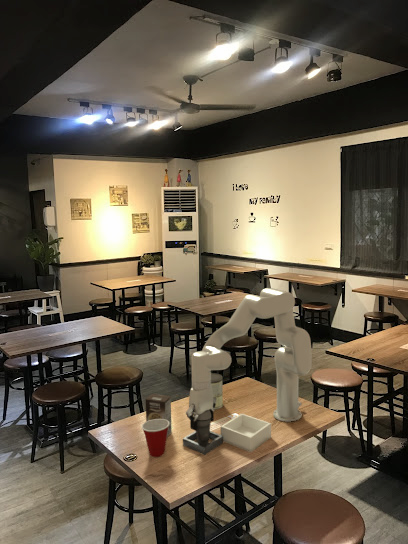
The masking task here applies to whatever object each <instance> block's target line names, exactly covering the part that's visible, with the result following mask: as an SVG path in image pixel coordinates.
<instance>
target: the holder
mask: <svg viewBox="0 0 408 544" xmlns="http://www.w3.org/2000/svg"><path fill="white" fill-rule="evenodd" d="M209 440H210V441H209V443H208V444H206V445H205V446H203V445H201V444H199V443H197V437H196V431H195V430H194V431H193V432H192V433H190V434H188V435H186V436H185V437H183V438H182V446H184V447H185V448H188V449H189V450H192V451H194V452H196V453H199V454H201V455H203V456H206V455H207V454H209V453H210V452H212V451H213V450H215V449H217V448H218V447H219V446H221V445H222V444H224V441H223V436H222V435H221V433H217V432H214V431H212V430H210V436H209Z"/></svg>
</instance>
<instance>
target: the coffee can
mask: <svg viewBox="0 0 408 544" xmlns="http://www.w3.org/2000/svg"><path fill="white" fill-rule="evenodd" d="M223 380H224V379H223V376H222V374H219V373H214V372H213V373H212V372H211V386H212V391H213V397H214V398H217V400H216V403H215V404H216V405H215V408H214V411H215V410H218V409H221V408H222V407H223V406H224V403H223V401H224V400H223V391H224V390H223Z"/></svg>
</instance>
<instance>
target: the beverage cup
mask: <svg viewBox="0 0 408 544" xmlns="http://www.w3.org/2000/svg"><path fill="white" fill-rule="evenodd" d="M193 417H195V414H194V415H193ZM211 418H212V416H211V412H210V410H206V411H205V412H204V413H202V414H200V415H198V417H197V419H196V420H197V426H198V430H197V431H196V437H197V439H196V443H199V444H201V445H203V446H205V445H206V444H208V443H210V439H209V436H210V431H211V423H212V421H211Z"/></svg>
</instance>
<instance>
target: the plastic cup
mask: <svg viewBox="0 0 408 544" xmlns="http://www.w3.org/2000/svg"><path fill="white" fill-rule="evenodd" d="M168 427H169V421H167V420H165V419H153V420H149V421H147V422H146V421H145V422H143V423H142V424H141V429H142V431H143V433H144V438H145V440H146V446H147V447H148V453H149V455H150V456H151V457H154V458H158V457H162V456H163V455H164V454H165V452H166V446H167V439H168V437H167V432H168Z"/></svg>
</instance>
